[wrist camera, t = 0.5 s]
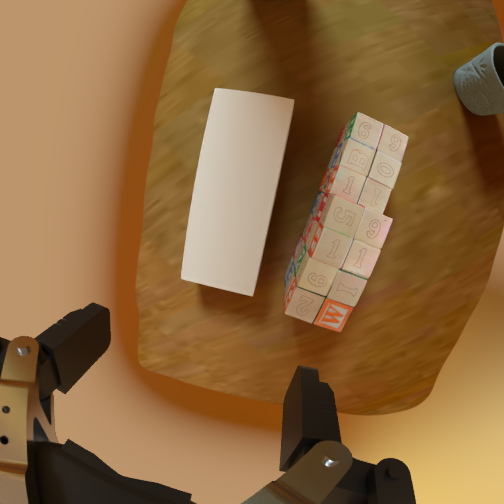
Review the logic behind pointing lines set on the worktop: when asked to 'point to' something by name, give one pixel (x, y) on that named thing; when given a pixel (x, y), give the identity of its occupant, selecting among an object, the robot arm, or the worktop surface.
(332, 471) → the robot arm
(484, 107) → the blue cup
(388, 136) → the stack of blocks
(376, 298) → the worktop surface
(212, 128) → the block
